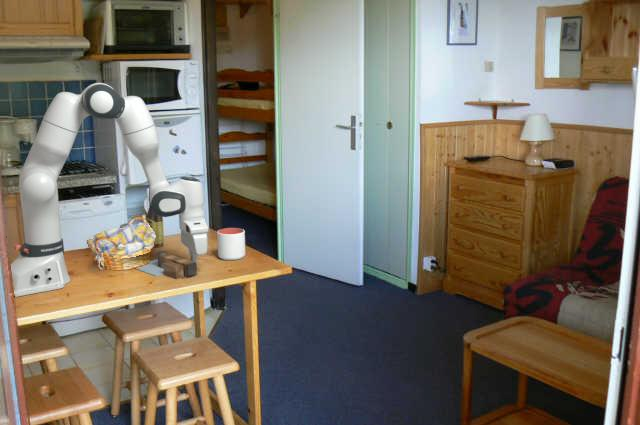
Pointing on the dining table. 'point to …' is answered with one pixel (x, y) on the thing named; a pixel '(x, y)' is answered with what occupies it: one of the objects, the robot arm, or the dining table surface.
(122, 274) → the dining table surface
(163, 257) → the leg
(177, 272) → the stop block
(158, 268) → the blue-grey square mat
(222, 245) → the cup
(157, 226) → the sauce bottle
